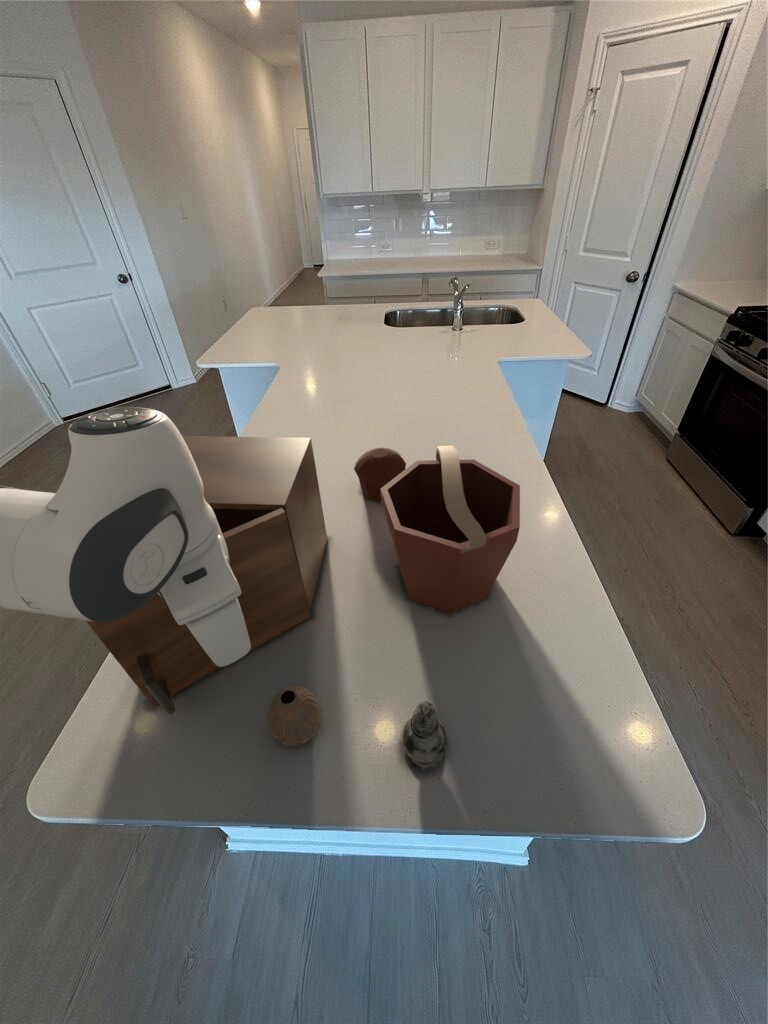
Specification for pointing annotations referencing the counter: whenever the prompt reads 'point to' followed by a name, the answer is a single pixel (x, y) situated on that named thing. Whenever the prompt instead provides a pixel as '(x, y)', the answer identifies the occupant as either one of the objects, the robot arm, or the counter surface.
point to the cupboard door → (172, 647)
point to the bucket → (451, 528)
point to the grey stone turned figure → (424, 737)
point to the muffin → (378, 470)
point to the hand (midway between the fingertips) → (217, 625)
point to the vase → (294, 716)
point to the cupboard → (265, 490)
